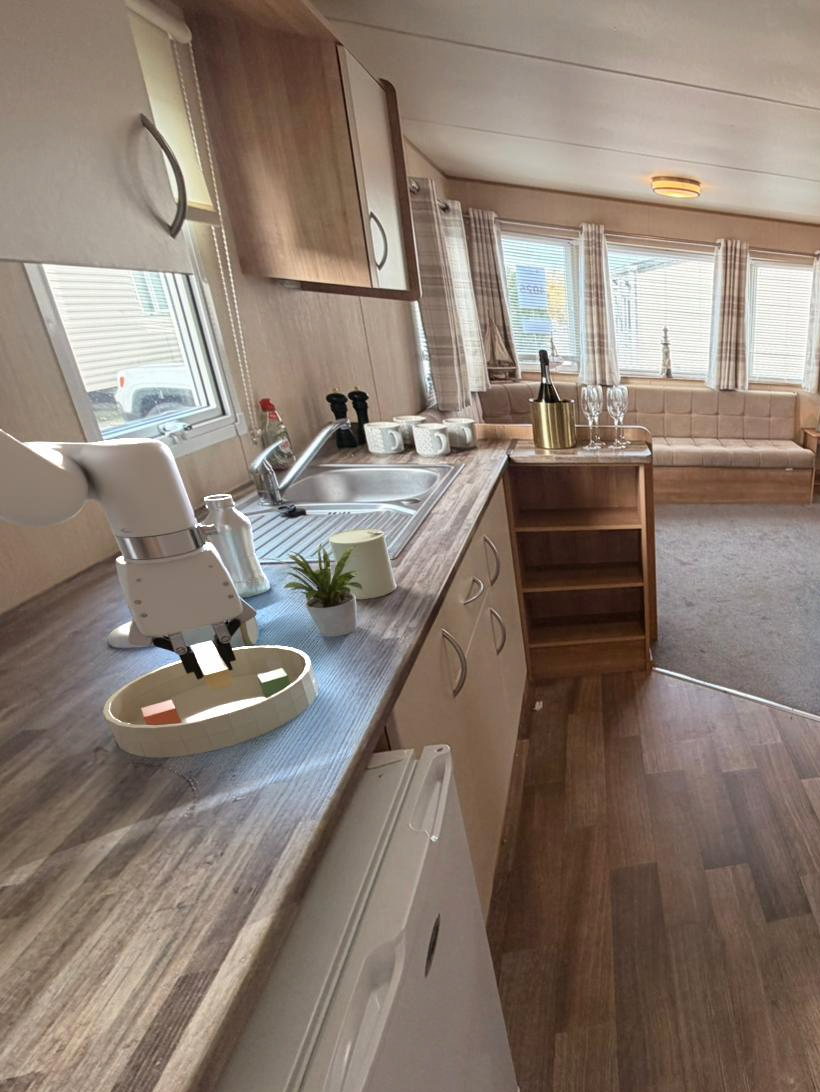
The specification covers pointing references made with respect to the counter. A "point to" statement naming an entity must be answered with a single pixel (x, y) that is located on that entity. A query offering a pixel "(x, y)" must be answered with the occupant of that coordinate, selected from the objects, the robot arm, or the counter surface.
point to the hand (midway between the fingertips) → (213, 670)
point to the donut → (121, 637)
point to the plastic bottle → (235, 545)
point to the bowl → (211, 704)
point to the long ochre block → (212, 666)
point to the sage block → (273, 681)
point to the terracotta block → (161, 714)
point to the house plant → (328, 594)
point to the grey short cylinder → (241, 638)
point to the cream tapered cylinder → (365, 561)
